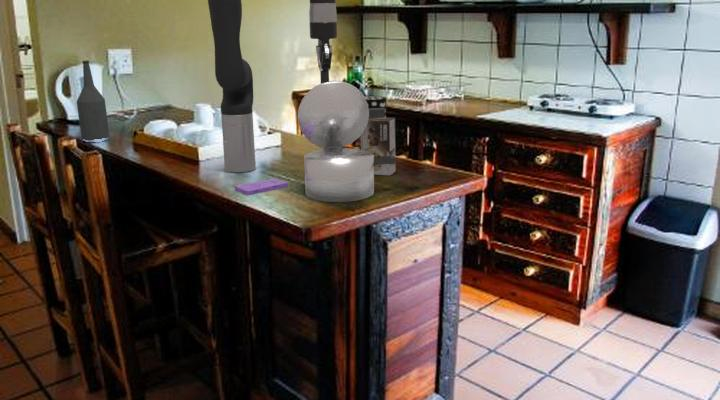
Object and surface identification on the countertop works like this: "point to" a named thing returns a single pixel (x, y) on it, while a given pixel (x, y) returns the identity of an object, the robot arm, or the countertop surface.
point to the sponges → (261, 186)
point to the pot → (341, 174)
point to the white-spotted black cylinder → (375, 105)
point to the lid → (335, 114)
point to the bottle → (91, 109)
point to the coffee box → (380, 142)
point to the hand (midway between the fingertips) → (324, 84)
